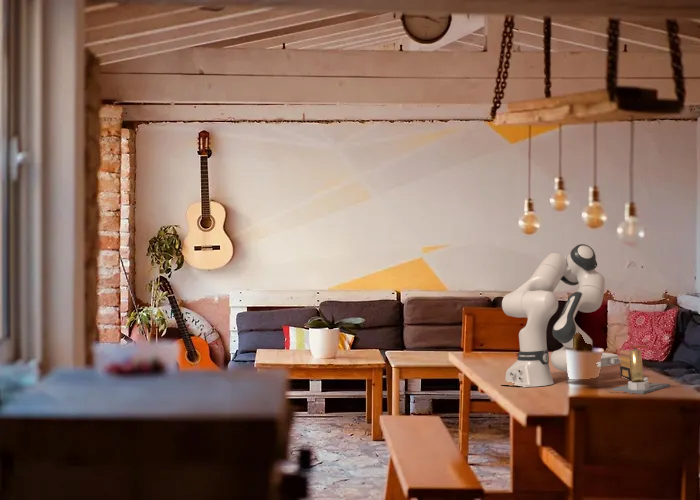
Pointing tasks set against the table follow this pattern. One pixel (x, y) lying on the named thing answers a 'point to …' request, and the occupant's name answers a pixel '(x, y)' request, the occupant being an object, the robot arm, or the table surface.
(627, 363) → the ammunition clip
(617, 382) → the table surface
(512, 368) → the robot arm
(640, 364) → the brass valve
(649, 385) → the coupling board
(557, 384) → the table surface
